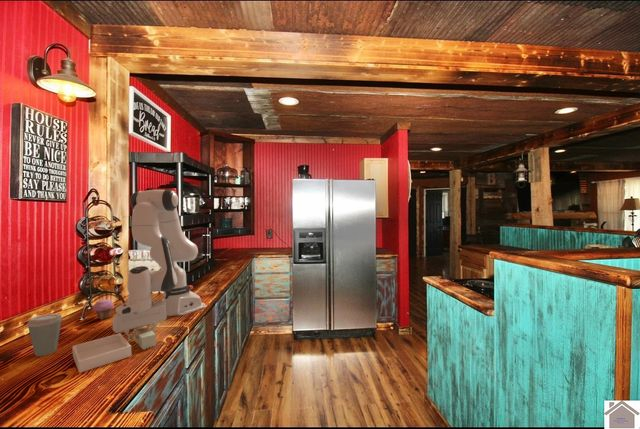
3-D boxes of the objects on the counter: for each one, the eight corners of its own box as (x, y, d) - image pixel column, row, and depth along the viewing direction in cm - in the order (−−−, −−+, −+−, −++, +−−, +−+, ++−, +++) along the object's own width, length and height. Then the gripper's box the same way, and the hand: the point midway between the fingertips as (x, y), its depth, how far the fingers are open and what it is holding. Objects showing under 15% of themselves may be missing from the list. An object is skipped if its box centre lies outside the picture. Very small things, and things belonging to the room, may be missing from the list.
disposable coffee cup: (46, 346, 126) (44, 311, 126) (71, 346, 126) (69, 311, 125) (20, 359, 116) (18, 321, 115) (47, 359, 115) (45, 320, 115)
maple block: (146, 336, 134) (146, 325, 133) (150, 340, 130) (149, 328, 130) (134, 340, 130) (133, 329, 130) (137, 344, 127) (136, 332, 126)
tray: (120, 342, 129) (120, 333, 128) (131, 356, 116) (131, 345, 116) (72, 355, 117) (72, 345, 117) (79, 372, 105) (78, 361, 104)
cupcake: (98, 322, 153) (97, 303, 153) (90, 319, 157) (89, 300, 157) (117, 316, 160) (116, 298, 160) (109, 314, 165) (108, 296, 165)
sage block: (152, 342, 128) (151, 330, 128) (156, 345, 124) (155, 334, 124) (139, 346, 124) (138, 334, 124) (142, 350, 121) (142, 338, 121)
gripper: (163, 297, 139) (164, 326, 139) (111, 308, 125) (112, 341, 125) (168, 300, 135) (169, 330, 135) (114, 312, 120) (115, 346, 120)
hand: (141, 335), depth 130 cm, fingers open, 7 cm apart
